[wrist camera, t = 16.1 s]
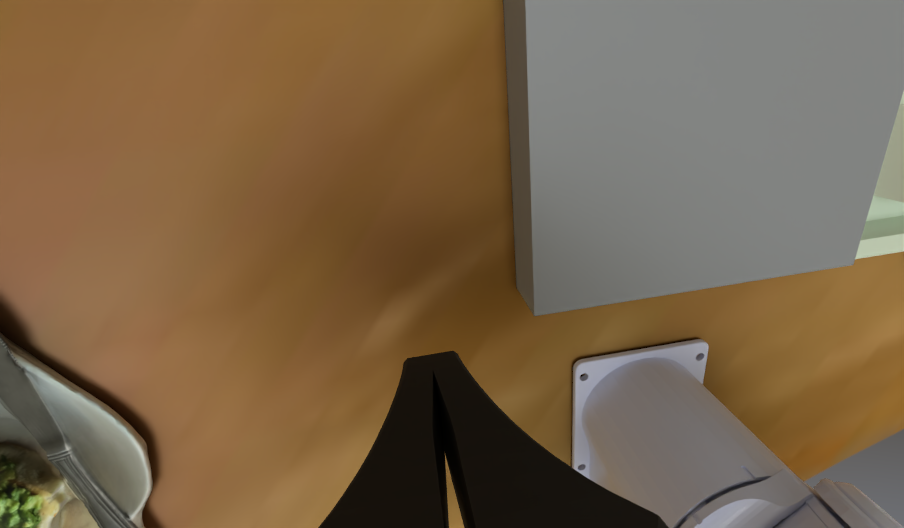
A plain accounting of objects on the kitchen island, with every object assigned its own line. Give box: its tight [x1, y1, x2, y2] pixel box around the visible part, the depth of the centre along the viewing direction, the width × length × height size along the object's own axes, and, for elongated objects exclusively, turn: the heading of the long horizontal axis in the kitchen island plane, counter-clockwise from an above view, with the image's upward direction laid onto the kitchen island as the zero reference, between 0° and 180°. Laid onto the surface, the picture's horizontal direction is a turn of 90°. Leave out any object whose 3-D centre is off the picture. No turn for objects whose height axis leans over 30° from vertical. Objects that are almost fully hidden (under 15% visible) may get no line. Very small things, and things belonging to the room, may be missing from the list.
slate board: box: [503, 0, 904, 316], centre depth 19 cm, size 16×16×3 cm
